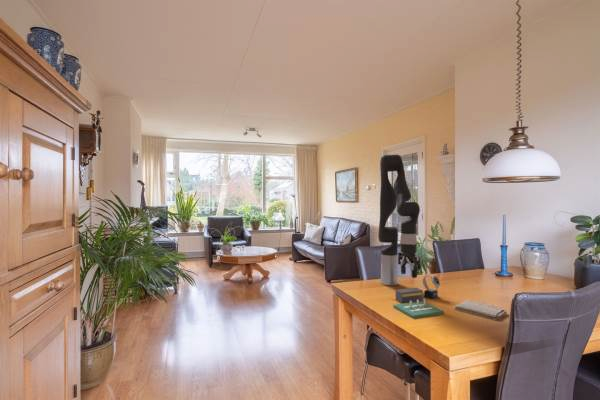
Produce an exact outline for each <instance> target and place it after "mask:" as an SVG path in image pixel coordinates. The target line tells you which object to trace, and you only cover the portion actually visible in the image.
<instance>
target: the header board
mask: <svg viewBox="0 0 600 400" xmlns="http://www.w3.org/2000/svg"><path fill="white" fill-rule="evenodd" d="M392 307H393V308H394V309H395V310H396V311H399V312H401V313H402V314H404V315H407V316H408V317H409V318H411V319H418V318H425V317H426V318H427V317H430V316H438V315H444V314H445V311H444V310H442V309H440V308H438V307H436V306H434V305H432V304H429V303H427V302H426V299H425V298H423V301H419V300H417V301H416V302H412V301H410V302H408V303H399V304H398V303H397V304H393V306H392Z"/></svg>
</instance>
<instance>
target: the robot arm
mask: <svg viewBox="0 0 600 400" xmlns="http://www.w3.org/2000/svg"><path fill="white" fill-rule="evenodd" d="M379 162H380V164H379V165H380V168H379V170H380V195H379V222H378V223H379V224H378V236H377V237H378V241H379V242H380V243H384V244H385V243H389V244H390V245H388V246H386V247H384V248H382V249H381V250H380V261H381V264H380V265H381V266H380V283H381V285H384V286H398V285H399V283H398V282H399V279H398V278H399V274H398V272H399V271H398V268H399V267H398V265H399V266H400V272H401V275H404V274H405V275H406V273H407V266H406V265H409V267H411V278H413V279H416V278H418V270H421V257H420V256H416V253H417V251H418V249H417V248H418V245H417V243H418V242H417V241H418V240H417V223H418V219H419V215H420V212H421V210H420V209H421V207H420V205H419V203H418V202H417V201H416V202H415V201H410V200H411V199H412V195H411V191H410V189H409V186H408V183H407V178H406V173H405V168H404V162H403V159H402V157H401V155H400V154H383V155H381V157H380V161H379ZM390 172H396V173H397V176H396V179H395V181H394V185H392V184H391V181H390V179H389V173H390ZM395 210H396V213H397V214H398V215H399V216H400V217H409V218H408V219H407V220H403V221H402V222H401V223H400V252H398V246H399V245H398V244H399V243H398V242H399V229H398V228H397V227H396V226H386V225H387V222H388V221H389V220H388V219H389V218H390V216H392V214H393V213H394V211H395Z"/></svg>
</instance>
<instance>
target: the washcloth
mask: <svg viewBox="0 0 600 400" xmlns="http://www.w3.org/2000/svg"><path fill="white" fill-rule="evenodd" d="M454 310H456V311H460V312H464V313H467V314H471V315H475V316H477V317H478V316H479V317H483V318H486V319H490V320H493V321H497V320H500V319H502V318H503V317H504V316H506V315H507V314H508V312H507V310H505V309H504V308H503V307H498V306H495V305H494V304H489V303H484V302H480V301H475V300H470V299H465V300H463V301H462V303H459V304H456V305H455V306H454ZM502 316H503V317H502ZM501 317H502V318H501Z"/></svg>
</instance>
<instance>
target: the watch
mask: <svg viewBox="0 0 600 400" xmlns="http://www.w3.org/2000/svg"><path fill="white" fill-rule="evenodd" d="M427 277H430V278H431V282H432V284H433V286H435V289H433V288H429V286H428V284H427V281H426V278H427ZM440 282H441V281H440V279H439V278H438V277H437V276H435V275H434V274H427V275H425V276H424V277H423V278H422V284H423V286H424V289H426V290H423V295H424V296H423V298H427V299H432V300H433V299H435V298H437V297H438V296H439V295H438V293H439V291H438V289H439V288H440V285H441V283H440Z"/></svg>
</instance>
